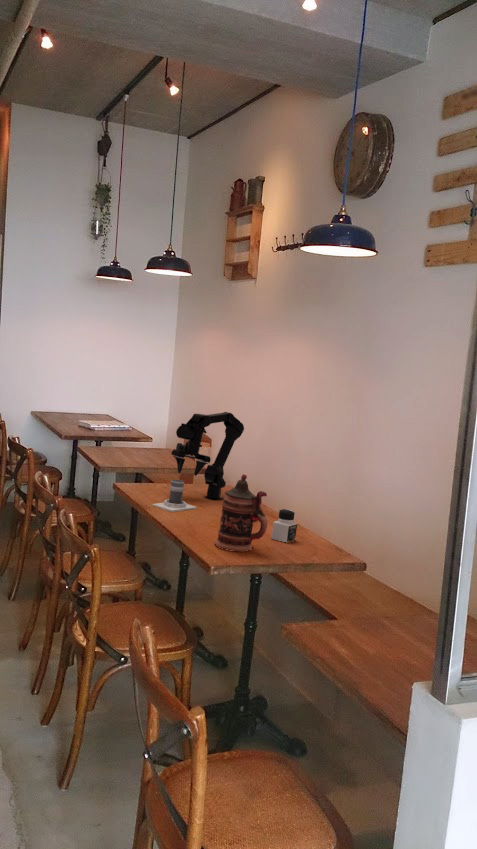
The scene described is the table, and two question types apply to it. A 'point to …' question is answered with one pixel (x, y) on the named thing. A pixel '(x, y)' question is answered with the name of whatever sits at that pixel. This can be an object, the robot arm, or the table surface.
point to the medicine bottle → (284, 526)
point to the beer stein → (240, 518)
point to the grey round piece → (176, 491)
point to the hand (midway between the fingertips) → (187, 474)
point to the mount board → (160, 505)
